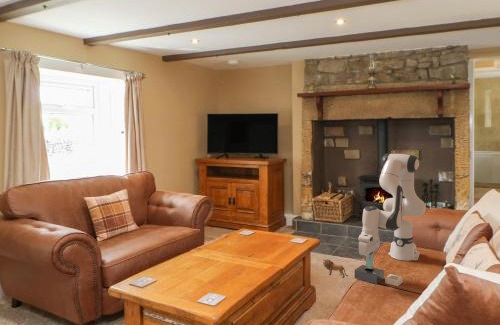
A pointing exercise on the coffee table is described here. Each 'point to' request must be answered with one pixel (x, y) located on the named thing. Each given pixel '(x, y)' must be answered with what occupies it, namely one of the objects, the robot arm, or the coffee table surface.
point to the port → (369, 274)
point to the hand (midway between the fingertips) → (369, 258)
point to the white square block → (393, 280)
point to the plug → (370, 261)
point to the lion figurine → (334, 267)
